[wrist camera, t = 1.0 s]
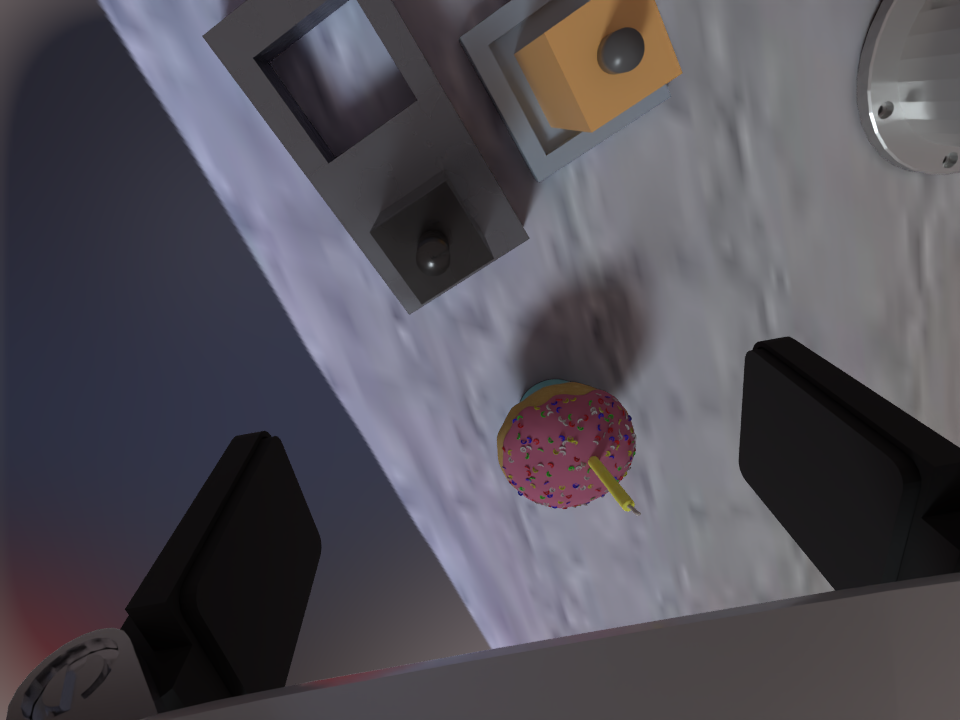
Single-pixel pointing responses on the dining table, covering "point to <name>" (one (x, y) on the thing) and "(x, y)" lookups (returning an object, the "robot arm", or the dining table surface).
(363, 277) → the dining table surface
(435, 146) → the grey socket base
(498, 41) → the tray
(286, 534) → the robot arm
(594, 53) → the plug
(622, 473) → the cupcake
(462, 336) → the dining table surface
